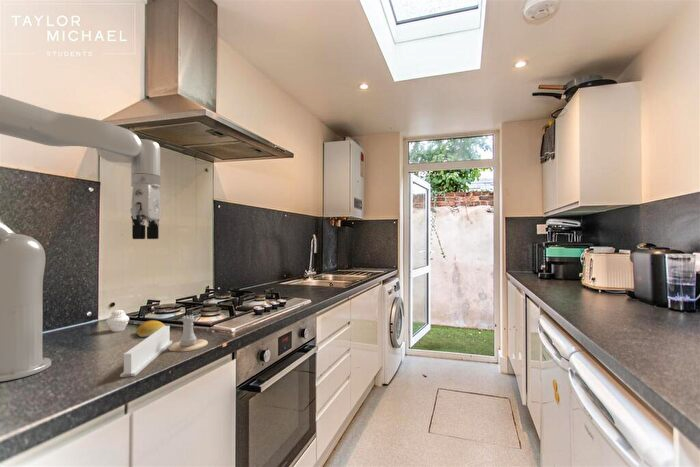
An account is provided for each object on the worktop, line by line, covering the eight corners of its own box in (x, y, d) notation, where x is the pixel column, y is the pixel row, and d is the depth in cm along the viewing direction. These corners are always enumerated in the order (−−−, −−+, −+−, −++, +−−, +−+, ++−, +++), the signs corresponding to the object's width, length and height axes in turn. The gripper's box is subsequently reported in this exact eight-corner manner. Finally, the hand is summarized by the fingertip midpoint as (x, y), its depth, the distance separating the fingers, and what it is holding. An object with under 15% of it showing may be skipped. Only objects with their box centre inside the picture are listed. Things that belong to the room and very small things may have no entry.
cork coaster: (162, 353, 89) (162, 351, 89) (175, 341, 99) (175, 340, 99) (202, 350, 91) (202, 348, 91) (211, 339, 101) (211, 338, 101)
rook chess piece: (178, 343, 95) (178, 315, 95) (195, 340, 98) (195, 313, 98) (180, 348, 92) (180, 318, 92) (198, 345, 94) (198, 316, 94)
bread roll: (140, 339, 102) (140, 326, 102) (135, 333, 109) (135, 321, 109) (170, 334, 107) (170, 321, 107) (163, 328, 114) (163, 316, 114)
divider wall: (120, 377, 74) (120, 354, 74) (161, 343, 97) (161, 326, 97) (135, 376, 74) (135, 353, 74) (172, 342, 98) (172, 325, 98)
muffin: (129, 327, 116) (129, 306, 116) (129, 331, 110) (129, 309, 111) (107, 329, 112) (107, 309, 112) (105, 334, 107) (105, 312, 107)
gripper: (147, 177, 93) (147, 239, 93) (169, 186, 110) (169, 238, 110) (117, 176, 92) (117, 239, 91) (144, 186, 109) (144, 239, 108)
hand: (146, 239), depth 100 cm, fingers open, 9 cm apart
